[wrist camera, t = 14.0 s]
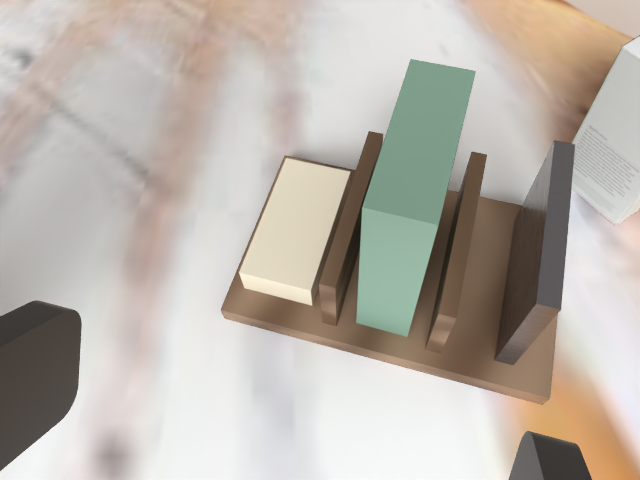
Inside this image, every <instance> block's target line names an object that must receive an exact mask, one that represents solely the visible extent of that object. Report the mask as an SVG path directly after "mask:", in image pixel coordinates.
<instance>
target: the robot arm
mask: <svg viewBox="0 0 640 480" xmlns="http://www.w3.org/2000/svg"><path fill="white" fill-rule="evenodd" d="M80 343H81V318H80V315H79V313H78V312H77V311H75V310H72V309H68V308H64V307H61V306H57V305H53V304H49V303H46V302H42V301H32V302H30V303H28V304H26V305H24V306H22V307H19V308H17V309H15V310H13V311H11V312H9V313H7V314H5V315H3V316H1V317H0V471H1V470H2V469H3V468H4V467H6V466H7V465H8V464H9V463H10V462H12V461H13V460H14V459H15V458H16V457H18V456H19V455H20V454H21V453H22V452H24V451H25V450H26V449H27V448H28V447H30V446H31V445H32V444H33V443H34V442H36V441H37V440H38V439H39V438H40V437H42V436H43V435H44V434H45V433H46V432H48V431H49V430H50V429H51V428H52V427H54V426H55V425H56V424H57V423H59V422H60V421H61V420H62V419H63V418H64V417H65V416H66V414H67V413H68V411H69V410H70V408H71V406H72V404H73V402H74V400H75V397H76V394H77V390H78V379H79V361H80ZM509 480H592V479H591V476H590V473H589V471H588V468H587V466H586V463H585V461H584V458H583V456H582V453H581V451H580V448H579V446H578V445H577V444H575V443H572V442H568V441H564V440H560V439H556V438H553V437H549V436H545V435H541V434H537V433H534V432H530V431H527V432H526V433H525V434H524V436H523V437H522V440H521V442H520V445H519V448H518V451H517V455H516V458H515V461H514V464H513V467H512V471H511V474H510V477H509Z"/></svg>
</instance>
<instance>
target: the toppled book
mask: <svg viewBox="0 0 640 480" xmlns="http://www.w3.org/2000/svg"><path fill="white" fill-rule="evenodd" d="M349 190H350V171H345V170H340V169H336V168H331V167H326V166H322V165H317V164H312V163H307V162H303V161H298V160H293V159H289V158H286V159H285V162H284V164H283V166H282V169H281V171H280V174H279V176H278V179H277V181H276V183H275V186H274V188H273V191H272V193H271V196H270V198H269V200H268V203H267V205H266V208H265V210H264V213H263V215H262V217H261V220H260V222H259V225H258V227H257V230H256V232H255V234H254V237H253V239H252V242H251V244H250V247H249V249H248V251H247V254H246V256H245V259H244V261H243V264H242V266H241V268H240V271H239V274H240V277H241V280H242V283H243V285H244V288H246V289H250V290H254V291H258V292H262V293H265V294H269V295H273V296H277V297H281V298H285V299H288V300H292V301H296V302H300V303H304V304H308V305H312V306H313V302H314V299H315V296H316V293H317V290H318V287H319V282H320V279H321V276H322V273H323V270H324V266H325V263H326V260H327V257H328V254H329V251H330V248H331V245H332V242H333V239H334V236H335V233H336V230H337V227H338V224H339V221H340V218H341V215H342V212H343V209H344V206H345V202H346V199H347V196H348V193H349Z"/></svg>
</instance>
